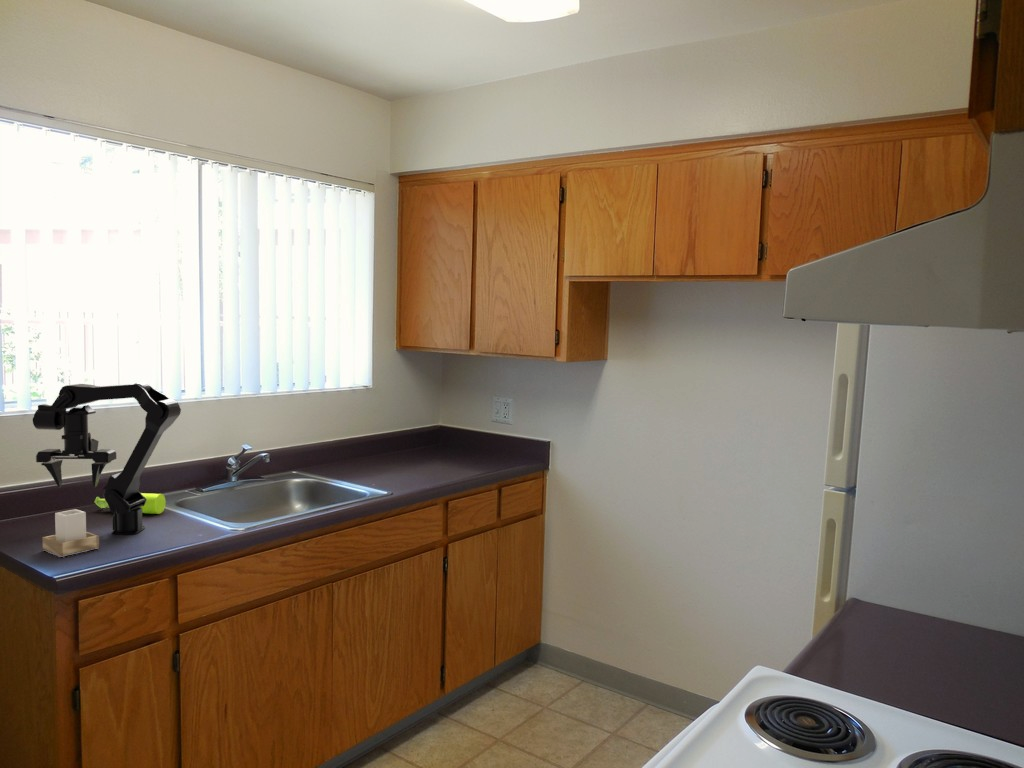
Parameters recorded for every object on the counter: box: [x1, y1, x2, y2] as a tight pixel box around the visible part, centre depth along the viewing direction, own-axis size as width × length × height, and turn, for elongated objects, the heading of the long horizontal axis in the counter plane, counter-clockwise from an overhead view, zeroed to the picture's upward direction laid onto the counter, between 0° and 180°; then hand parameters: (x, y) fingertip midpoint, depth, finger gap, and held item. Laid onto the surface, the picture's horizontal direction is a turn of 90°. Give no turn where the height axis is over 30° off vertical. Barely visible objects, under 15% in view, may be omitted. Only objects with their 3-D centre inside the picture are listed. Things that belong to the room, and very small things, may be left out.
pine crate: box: [42, 530, 100, 556], centre depth 190 cm, size 9×9×4 cm
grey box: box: [54, 508, 87, 543], centre depth 189 cm, size 5×5×9 cm
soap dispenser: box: [94, 492, 167, 515], centre depth 228 cm, size 6×7×20 cm
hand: (77, 486), depth 207 cm, fingers open, 9 cm apart
